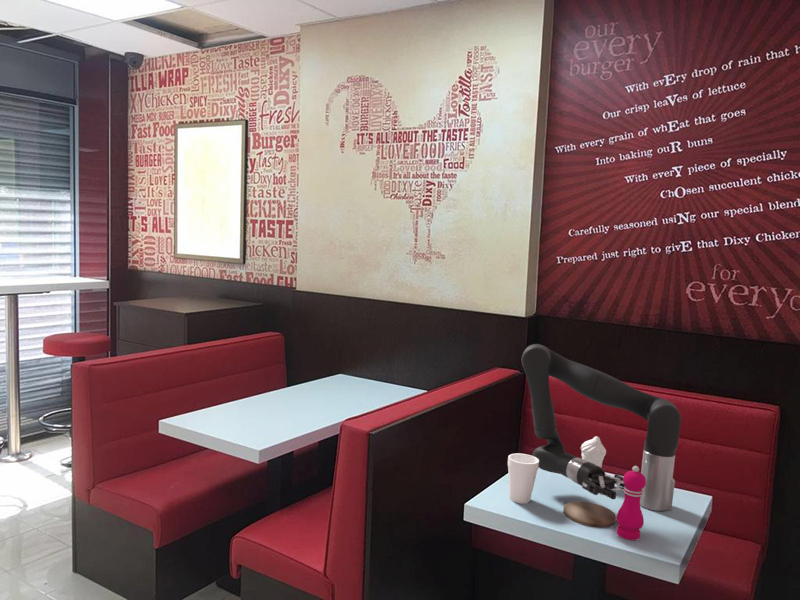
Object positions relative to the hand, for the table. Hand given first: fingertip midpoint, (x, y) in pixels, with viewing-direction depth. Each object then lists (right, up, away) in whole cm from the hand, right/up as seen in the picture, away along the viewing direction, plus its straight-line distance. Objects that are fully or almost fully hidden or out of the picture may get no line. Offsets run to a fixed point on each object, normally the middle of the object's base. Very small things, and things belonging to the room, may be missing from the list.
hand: (626, 494), depth 189 cm
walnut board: (-7, -9, +11) cm, 16 cm away
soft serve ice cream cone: (+1, -7, +39) cm, 40 cm away
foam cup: (-26, -7, +19) cm, 34 cm away
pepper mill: (0, -11, -1) cm, 12 cm away
